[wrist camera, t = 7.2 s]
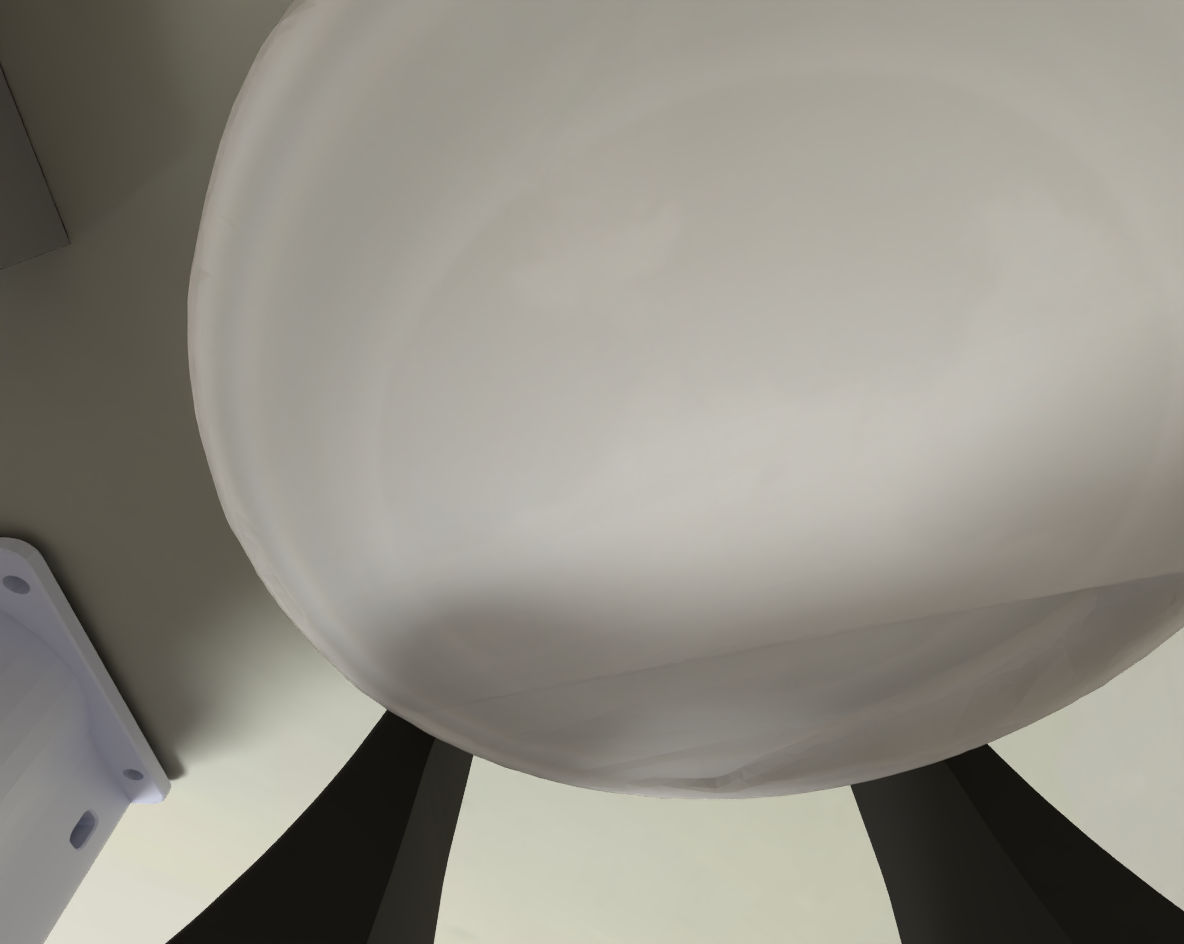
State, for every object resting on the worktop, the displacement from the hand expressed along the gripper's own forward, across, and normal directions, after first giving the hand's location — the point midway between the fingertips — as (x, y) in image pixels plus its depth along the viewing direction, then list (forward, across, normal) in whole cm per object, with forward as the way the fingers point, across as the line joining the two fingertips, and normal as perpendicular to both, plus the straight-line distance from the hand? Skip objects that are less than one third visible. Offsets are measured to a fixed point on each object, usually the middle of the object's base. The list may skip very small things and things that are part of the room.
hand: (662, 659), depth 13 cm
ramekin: (+2, 0, -6) cm, 6 cm away
